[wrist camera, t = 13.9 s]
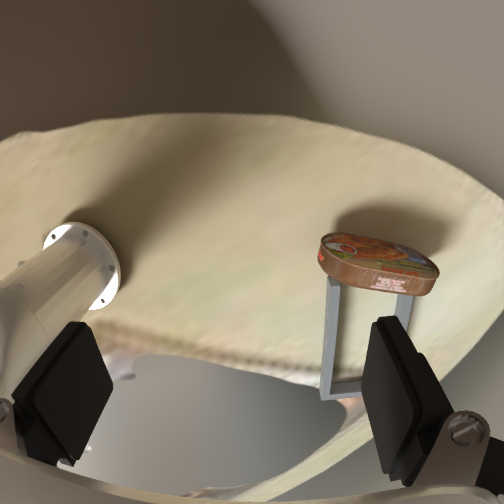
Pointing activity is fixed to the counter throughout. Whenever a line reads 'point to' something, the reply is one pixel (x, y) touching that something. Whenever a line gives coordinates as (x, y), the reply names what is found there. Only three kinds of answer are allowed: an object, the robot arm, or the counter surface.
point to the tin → (376, 265)
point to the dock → (330, 332)
